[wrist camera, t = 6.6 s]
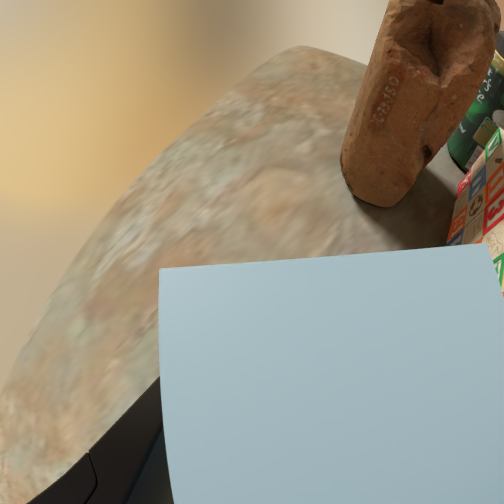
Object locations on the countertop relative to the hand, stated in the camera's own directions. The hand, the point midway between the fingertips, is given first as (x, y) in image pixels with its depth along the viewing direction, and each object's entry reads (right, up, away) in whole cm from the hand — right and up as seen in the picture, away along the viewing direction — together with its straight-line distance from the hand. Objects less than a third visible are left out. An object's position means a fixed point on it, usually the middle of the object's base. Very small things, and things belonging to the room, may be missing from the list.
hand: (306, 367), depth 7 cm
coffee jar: (+26, +15, +21) cm, 36 cm away
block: (+10, +11, +18) cm, 23 cm away
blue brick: (0, -5, +6) cm, 8 cm away
